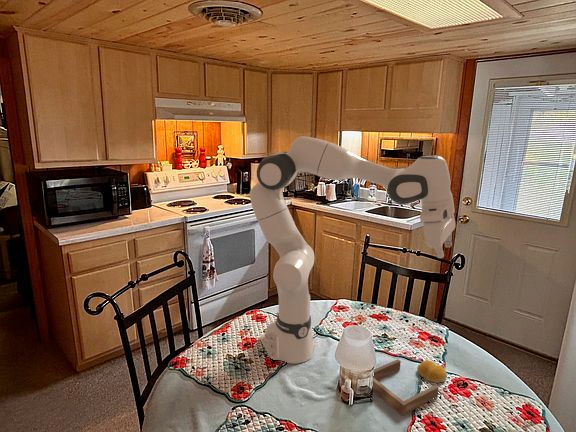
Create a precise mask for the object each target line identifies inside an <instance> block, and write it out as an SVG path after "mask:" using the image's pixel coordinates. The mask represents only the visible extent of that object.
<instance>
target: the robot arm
mask: <svg viewBox="0 0 576 432" xmlns="http://www.w3.org/2000/svg"><path fill="white" fill-rule="evenodd" d="M300 172H304V173H305V172H307V173H309V174H311V175H315V176H318V177H320V178H324V179H326V180H333V181H343V180H347V179H360V180H364V181H367V182H370V183H373V184H376V185H378V186H382V187H384V188H386V189H387V195H388V196H389V198H390V199H391V200H392V201H393V202H394V203H396V204H399V205H407V204H411V203H414V202H417V201H420V200H421V212H420V215H419V220H420V223H422V227H423V228H422V229H423V234H424V239H425V242H426V245H427V248H429V249H434V251H435V253H436V258H438V259H443V258H444V257H445V251H444V250H443V245H444V247H445V248H446V249H447V248H452V246H453V245H452V240H453V239H452V236H453V234H452V233H453V232H454V230H455V229H456V218H455V215H454V214H455V212H456V211H455V210H456V209H455V203H454V197H453V193H452V191H451V184H452V183H451V182H452V180H451V176H450V171H449V167H448V163H447V161H446V159H445V158H443V157H442V156H440V155H435V154H434V155H422V156H419V157H418V158H417V159H416V160H415V161H414V162H413V163H412V164H410V165H409V166H400V167H399V166H398V167H389V166H387V165H383V164H379V163H377V162H374V161H370V160H368V159H364V158H363V157H361V156H358V155H357V154H355V153H353V152H352V151H350V150H348V149H346V148H344V147H342V146H341V145H338V144H336V143H334V142H330V141H327V140H324V139H320V138H316V137H311V136H304V135H301V136H298V137H297V138H295V139H294V140H293V142H292V143H291V144H290V147H289V150H287V151H280V152H275V153H272V154H270V155H269V156H267V157H264V158H263V159H262V160H261V161H260V162H259V163H258V165H257V169H256V178H257V180H258V183H256V184H255V185H254V186H253V187H252V188H251V189H250V191H249V200H250V204H251V207H252V211H253V212H254V216H255V218H256V220H257V222H258V223H257V224H258V225H259V227H260V229H261V231H262V233H263V234H262V235H263V236H264V239H265V240H266V241H267V243H269V244H271V246H272V247H273V248H274V249H275V250H276V253H278V255H279V259H278V261H277V262H276V263H275V266H274V267H273V274H272V278H273V282H274V283H275V284H276V288H277V289H276V290H277V295H278V312H275V313H274V315H275V317H276V320H275V321H273V322H271V323H270V324H268V325H267V326H266V329H265V333H263V334H262V335H260V336H259V341H260V340H261V341H260V343H261V342H262V343H261V345H262V344H263V345H262V347H263V346H264V347H265V349H266V350H265V349H264V350H265V352H266V351H267V352H266V354H267V353H268V354H267V355H269V356H270V358H271V359H273V360H282V361H285V362H284V363H286V362H287V364H302V363H306V362H307V361H309V360H310V359H311V358H312V357H313V355H314V350H315V348H316V341H314V334H313V327H312V318H311V294H310V292H309V291H310V290H309V276H310V273H311V270H312V268H313V267H314V264H315V252H314V250H313V247H311V246H310V245H309V244H308V243H307V241H306V240H305V238H304V237H303V235H302V234H301V233H300V231H299V229H298V228H297V226H296V224H295V223H296V222H295V221H294V219H293V216H292V215H291V212H290V210H289V207H288V205H287V203H286V201H285V198H284V193H283V192H284V189H285V188H287V187H288V186H289V185H290V184H291V183H292V182H294V181H295V180H296V178H298V175H299V173H300ZM264 347H263V348H264ZM272 355H273V356H272ZM269 356H268V357H269ZM270 358H269V359H270ZM282 361H281V362H282Z"/></svg>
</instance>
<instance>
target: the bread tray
mask: <svg viewBox="0 0 576 432" xmlns="http://www.w3.org/2000/svg"><path fill="white" fill-rule="evenodd" d="M373 370H374V376H373V393H375V394H376V395H377V396H378V397H380V398H381V399H382V400H383V401H384V402H385V403H387V404H388V405H389V406H390V407H392V409H393V410H395V411H396V412H397V413H398V414H400V415H401V416H405V415H406V414H408V413H410V412H412V411H414V410H416V409H418V408H419V407H421V406H423V405H425V404H427V403H429V402H431V401H432V399H433V398H435V397H436V398H438V397H437V396H439V395H438V393H439V386H438V385H436V384H434V385H432V386H431V387H428V388H427V389H424V390H422V391H420V392H419V393H417V394H414V395H413V396H410V397H409V398H407V399H405V400H403V399H402V398H400V397H399V396H398V395H396V394H395V393H394V392H392V391H391V390H390V389H389V388H388V387H386V386H385V385H383V384H382V383H381V382H380V381H379V380H381V379H383V378H386V377H387V376H389V375H392V374H394V373H398V372H399V371H400V370H401V359H398V358H397V359H395V360H392V361H390V362H389V363H388V362H387V363H386V364H384V365H381V366H379V367H377V368H374V369H373ZM436 398H435V399H436ZM430 400H431V401H430ZM433 400H434V399H433ZM428 401H429V402H428ZM426 402H427V403H426ZM424 403H425V404H424Z"/></svg>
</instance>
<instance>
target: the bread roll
mask: <svg viewBox="0 0 576 432" xmlns="http://www.w3.org/2000/svg"><path fill="white" fill-rule="evenodd" d="M416 368H417V372H418V374H419V375H420V376H421V377H422V378H424V379H426V380H427V381H429V382H432V383H443V382H445V381H446V380H447V378H448V377H447V375H448V374H447V369H445V368H444V366H442V365H439V364H436V363H435V362H434V361H432V360H430V359H429V360H424V361H422V362H421V363H419V364H418V365H417V367H416Z"/></svg>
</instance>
